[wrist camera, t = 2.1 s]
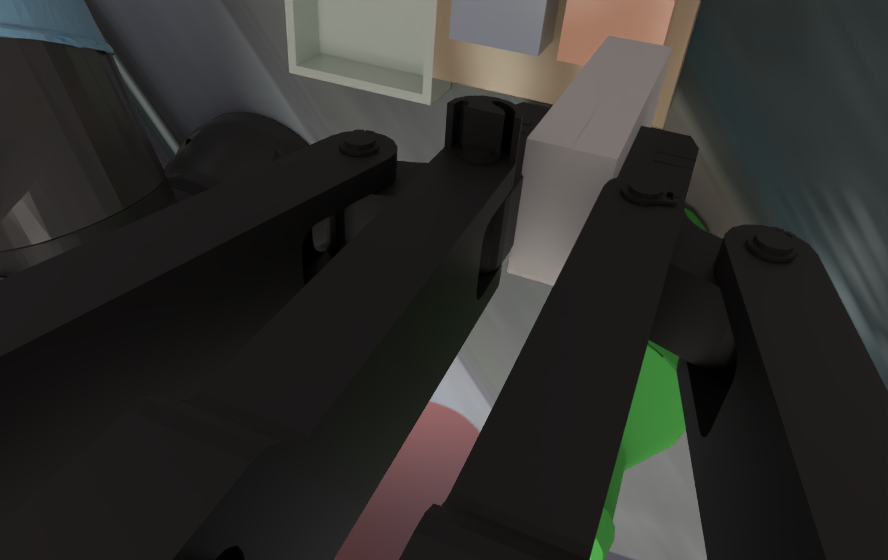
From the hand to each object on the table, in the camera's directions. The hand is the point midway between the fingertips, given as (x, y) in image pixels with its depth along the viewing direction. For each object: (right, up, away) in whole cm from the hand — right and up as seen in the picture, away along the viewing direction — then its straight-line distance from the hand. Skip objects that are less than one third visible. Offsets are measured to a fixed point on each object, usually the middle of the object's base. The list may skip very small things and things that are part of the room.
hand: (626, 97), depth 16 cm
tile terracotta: (+5, +10, +18) cm, 21 cm away
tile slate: (-1, +11, +20) cm, 23 cm away
